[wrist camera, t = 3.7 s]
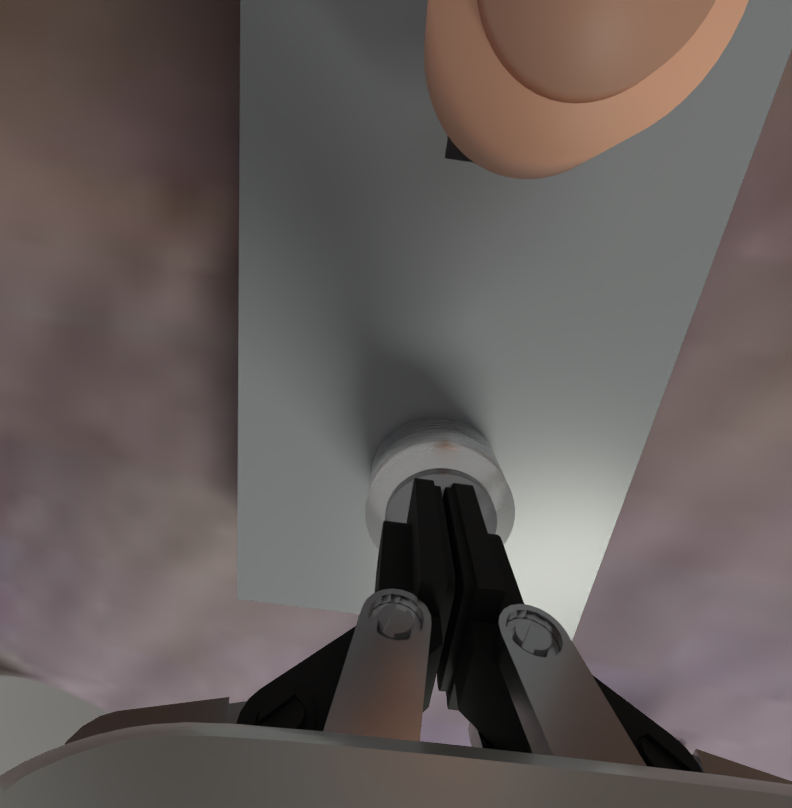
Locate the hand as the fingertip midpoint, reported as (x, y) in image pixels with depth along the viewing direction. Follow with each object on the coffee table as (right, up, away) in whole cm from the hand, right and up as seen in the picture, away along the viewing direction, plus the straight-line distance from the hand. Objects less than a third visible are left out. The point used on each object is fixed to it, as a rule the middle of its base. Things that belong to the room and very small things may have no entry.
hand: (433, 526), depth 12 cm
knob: (0, +2, +6) cm, 6 cm away
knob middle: (+2, +11, -1) cm, 11 cm away
